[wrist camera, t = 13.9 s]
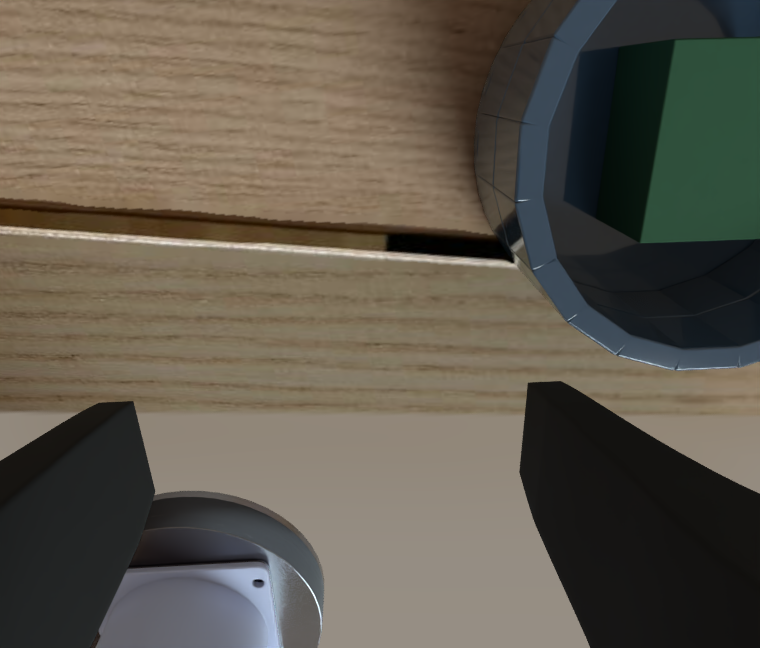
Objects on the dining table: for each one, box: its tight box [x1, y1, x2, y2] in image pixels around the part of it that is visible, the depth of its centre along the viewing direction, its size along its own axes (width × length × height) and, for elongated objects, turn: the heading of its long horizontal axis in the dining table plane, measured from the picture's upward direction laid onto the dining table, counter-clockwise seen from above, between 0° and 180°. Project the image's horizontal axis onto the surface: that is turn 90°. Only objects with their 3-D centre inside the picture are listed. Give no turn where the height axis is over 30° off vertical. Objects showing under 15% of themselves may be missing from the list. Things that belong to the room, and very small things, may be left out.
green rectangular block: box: [596, 37, 760, 243], centre depth 15 cm, size 5×4×3 cm
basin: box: [474, 0, 760, 371], centre depth 15 cm, size 11×11×5 cm
